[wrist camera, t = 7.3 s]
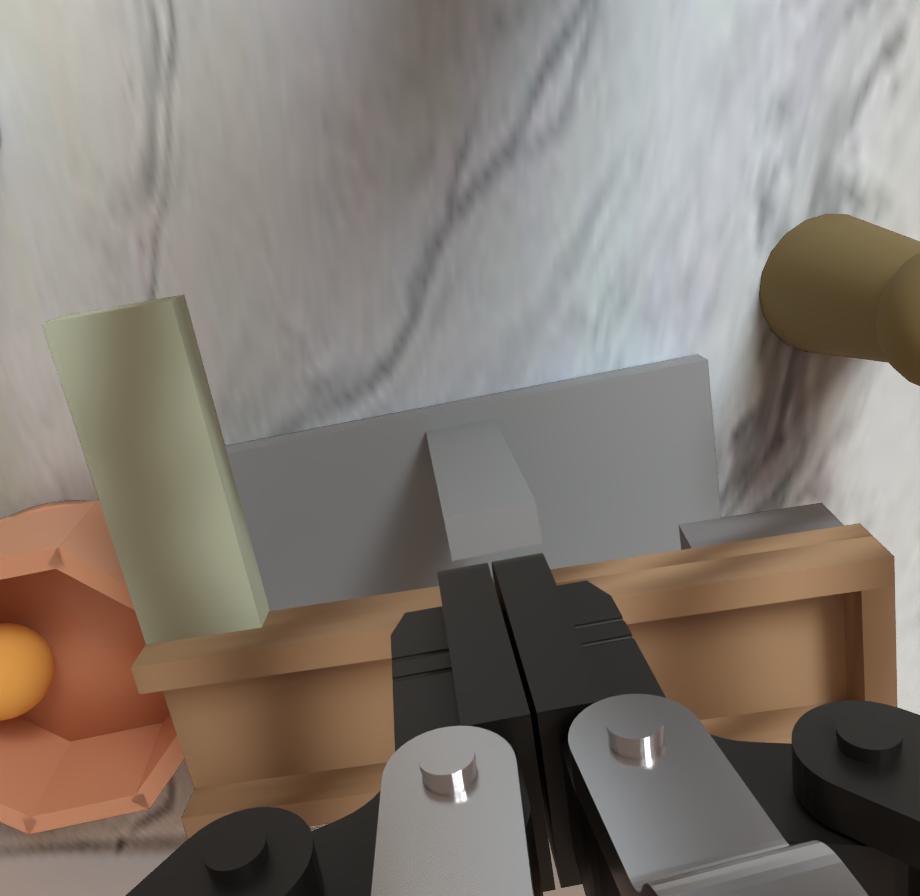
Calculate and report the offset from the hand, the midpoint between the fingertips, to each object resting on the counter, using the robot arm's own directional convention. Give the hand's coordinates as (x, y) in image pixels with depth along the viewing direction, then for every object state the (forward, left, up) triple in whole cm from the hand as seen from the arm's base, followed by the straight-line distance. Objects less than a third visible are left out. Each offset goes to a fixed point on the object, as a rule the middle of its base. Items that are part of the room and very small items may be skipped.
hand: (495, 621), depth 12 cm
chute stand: (+11, +1, -26) cm, 29 cm away
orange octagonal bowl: (+11, -17, -26) cm, 33 cm away
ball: (+11, -20, -23) cm, 33 cm away
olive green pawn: (+2, +18, -27) cm, 32 cm away
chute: (+5, +1, -18) cm, 19 cm away
